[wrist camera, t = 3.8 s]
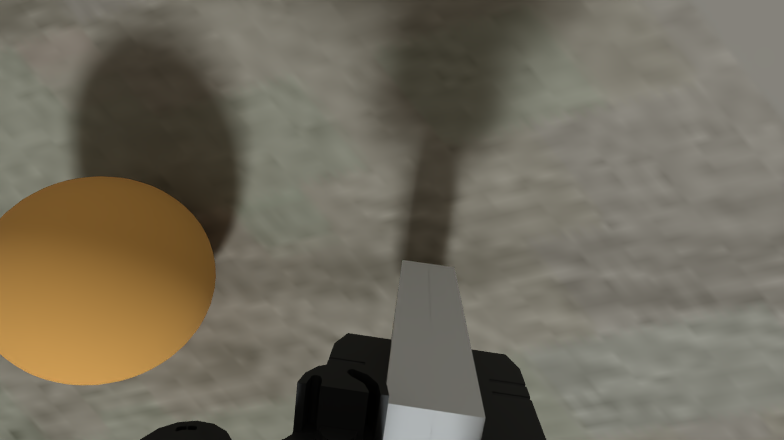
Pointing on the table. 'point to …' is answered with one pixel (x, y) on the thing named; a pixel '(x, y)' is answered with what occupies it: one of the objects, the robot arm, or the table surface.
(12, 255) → the ball
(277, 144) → the table surface
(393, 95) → the table surface
